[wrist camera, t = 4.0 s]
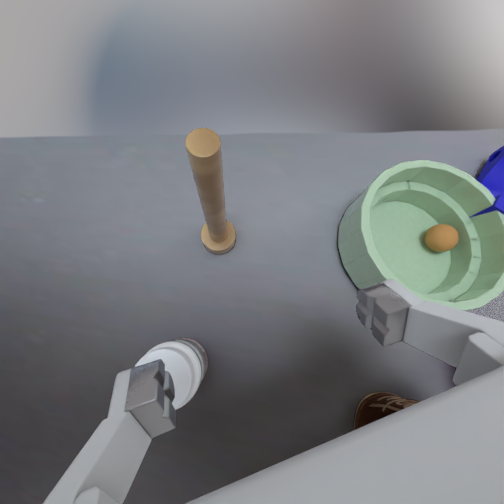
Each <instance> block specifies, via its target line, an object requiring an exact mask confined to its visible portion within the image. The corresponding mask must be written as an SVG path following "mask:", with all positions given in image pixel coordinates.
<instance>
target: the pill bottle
mask: <svg viewBox="0 0 504 504" xmlns="http://www.w3.org/2000/svg"><path fill="white" fill-rule="evenodd" d="M159 359H162V361H163V362H164V364H165V371H168V372H169V373H170V375H171V377H172V379H173V383H174V389H175V398H174V400H173V402H172V405H173V406H174V408H175V410H176V409H178V408H180V407H182V406H184V405H185V404H186V403H188V402H189V401H190V400H191V398H192V397H193V396H194V395H195V393H196V391H197V390H198V388H199V386H200V384H201V382H202V380H203V379H204V377H205V374H206V371H207V366H208V359H207V355H206V352H205V350H204V348H203V347H202V346H201V345H200V344H199V343H198V342H197V341H195V340H193V339H189V338H180V339H176V340H173V341H168V342H164V343H161V344H159V345H157V346H155V347H153V348H152V349H151V350H149V351H148V352H147V353H146V354H145V355H144V356H143V357H142V358H141V359H140V360H139V361H138V362H137V364H136V365H135V367H137V366H140V365H143V364H146V363H149V362H152V361H156V360H159Z"/></svg>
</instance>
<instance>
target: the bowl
mask: <svg viewBox="0 0 504 504" xmlns="http://www.w3.org/2000/svg"><path fill="white" fill-rule="evenodd" d="M495 200H496V198H495V197H494V196H493V195H492V193H491V192H490V191H489V190H488V189H487V188H486V187H485V186H484V185H482V184H481V183H480V182H478V181H477V180H476V179H475V178H473V177H472V176H471V175H469V174H468V173H466V172H463V171H461V170H459V169H457V168H455V167H452V166H450V165H448V164H445V163H439V162H433V161H428V160H419V161H410V162H402V163H400V164H398V165H396V166H393V167H391V168H389V169H387V170H385V171H383V172H382V173H381V174H380V175H379V176H378V177H377V178H376V179H375V180H374V181H373V182H372V184H371V185H370V186H369V187H368V188H367V189H366V190H365V191H364V192H363V193H362V194H361V195H360V196H359V197H358V198H357V199H356V200H355V201H354V202H353V203H352V204H351V205H350V206H349V207H348V208H347V210H346V212H345V214H344V216H343V219H342V221H341V223H340V226H339V238H338V247H339V251H340V255H341V259H342V263H343V266H344V268H345V269H346V271H347V272H348V274H349V276H350V277H351V279H352V281H353V282H354V284H355V286H357V287H358V288H359V289H363V288H365V287H368V286H371V285H374V284H377V283H380V282H382V281H385V280H388V279H394V280H396V281H397V282H398V283H400V284H401V285H402V286H404V287H405V288H406V289H408V290H409V291H410V292H412V293H413V294H415V295H416V296H417V297H419V298H420V299H421V300H423V301H424V302H425V301H431V302H434V303H438V304H442V305H445V306H449V307H452V308H456V309H460V310H463V311H466V310H471V309H477V308H481V307H482V306H484V305H485V304H487V303H488V302H490V301H491V300H493V299H495V298H496V297H498V296H499V295H500V294H501V293H502V291H503V290H504V214H502V213H501V212H499V211H492V212H489V213H485V214H481V215H478V216H474V217H470V216H472V215H474V214H476V213H478V212H480V211H482V210H484V209H486V208H488V207H490V206H492V205H493V204H494V202H495ZM469 217H470V218H469ZM437 224H447V225H450V226H452V227H454V228H455V229H456V230H457V232H458V234H459V240H458V243H457V245H456V246H455V247H454V248H452V249H451V250H449V251H445V252H437V251H434V250H432V249H430V248H429V247H428V246H427V245H426V243H425V240H424V237H425V233H426V232H427V230H428V229H429V228H431V227H432V226H434V225H437Z"/></svg>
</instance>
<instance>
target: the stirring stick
mask: <svg viewBox="0 0 504 504" xmlns="http://www.w3.org/2000/svg"><path fill="white" fill-rule="evenodd" d="M185 145H186V149H187V153H188V157H189V161H190V164H191V168H192V172H193V175H194V179H195V183H196V186H197V190H198V194H199V198H200V201H201V205H202V209H203V212H204V216H205V220H206V224H205V225H204V226H203V228H202V231H201V239H202V242H203V244H204V246H205V248H206V249H207V250H208V251H209V252H211V253H213V254H224V253H227V252H229V251H230V250H231V249H232V248H233V246H234V244H235V241H236V232H235V228H234V226H233V225H232V224H231V223H230V222H229V221H227V220H226V212H225V198H224V184H223V170H222V157H221V143H220V138H219V136H218V135H217V134H216V133H215V132H214V131H213V130H210V129H207V128H198V129H195V130H193V131H191V132H190V133H189V134H188V136H187V138H186V141H185Z"/></svg>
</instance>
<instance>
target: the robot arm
mask: <svg viewBox="0 0 504 504" xmlns="http://www.w3.org/2000/svg"><path fill="white" fill-rule="evenodd" d="M357 298H358V299H359V302H358V304H357V305H356V312H357V315H358V318H359V320H360V321H361V323H362V324H363V325H364V326H365V327H367V328H369V329H372V335H373V336H374V337H375V338H376V339H377V340H378V341H379V343H380V344H381V345H382V346H383V347H386V346H389V345H391V344H394V343H397V342H400V341H403V342H405V343H407V344H409V345H411V346H413V347H415V348H417V349H419V350H421V351H423V352H425V353H427V354H429V355H431V356H433V357H435V358H437V359H439V360H441V361H443V362H445V363H447V364H449V365H452V366H454V367H456V371H455V374H454V376H453V382H454V383H455V384H456V385H457V386H455V387H453V388H451V389H448V390H446V391H444V392H441V393H439V394H437V395H434V396H432V397H430V398H428V399H425V400H423V401H421V402H418V403H416V404H414V405H411V406H409V407H407V408H404V409H402V410H400V411H397V412H395V413H393V414H391V415H388V416H386V417H384V418H381V419H379V420H377V421H374V422H372V423H370V424H367V425H365V426H363V427H360V428H358V429H356V430H354V431H351V432H349V433H347V434H344V435H342V436H340V437H337V438H335V439H333V440H330V441H328V442H326V443H324V444H321V445H319V446H317V447H314V448H312V449H310V450H307V451H305V452H303V453H300V454H298V455H296V456H293V457H291V458H289V459H287V460H284V461H282V462H280V463H277V464H275V465H273V466H270V467H268V468H266V469H263V470H261V471H259V472H257V473H254V474H252V475H250V476H247V477H245V478H243V479H240V480H238V481H236V482H233V483H231V484H229V485H227V486H224V487H222V488H220V489H217V490H215V491H213V492H210V493H208V494H206V495H204V496H201V497H199V498H197V499H194V500H192V501H190V502H187V503H185V504H504V322H503V321H499V320H495V319H492V318H488V317H485V316H481V315H478V314H474V313H470V312H467V311H463V310H460V309H456V308H452V307H449V306H445V305H442V304H438V303H434V302H431V301H425V302H424V301H423V300H421V299H420V298H419V297H417V296H416V295H415V294H413V293H412V292H410V291H409V290H408V289H406V288H405V287H404V286H402V285H401V284H400V283H398V282H397V281H396V280H394V279H388V280H385V281H382V282H380V283H377V284H374V285H371V286H368V287H365V288H363V289H360V290H358V292H357ZM174 398H175V389H174V383H173V379H172V377H171V375H170V373H169V372H168V371H165V364H164V362H163V361H162V359H159V360H156V361H152V362H149V363H146V364H143V365H140V366H137V367H134V368H131V369H128V370H125V371H122V372H119V373H118V374H117V376H116V378H115V383H114V388H113V393H112V398H111V402H110V407H109V412H108V417H107V419H105V420H103V421H102V422H101V423H100V425H99V426H98V427H97V429H96V430H95V432H94V433H93V434H92V436H91V437H90V439H89V440H88V441H87V443H86V444H85V446H84V447H83V448H82V450H81V451H80V452H79V454H78V455H77V457H76V458H75V459H74V461H73V462H72V464H71V465H70V466H69V468H68V469H67V470H66V472H65V473H64V475H63V476H62V477H61V479H60V480H59V482H58V483H57V484H56V486H55V487H54V489H53V490H52V491H51V493H50V494H49V495H48V497H47V498H46V500H45V501H44V502H43V504H123V502H124V500H125V498H126V495H127V493H128V491H129V489H130V487H131V484H132V482H133V480H134V478H135V476H136V473H137V471H138V469H139V467H140V464H141V462H142V460H143V458H144V456H145V453H146V451H147V449H148V447H149V445H150V442H151V440H152V439H151V438H153V437H155V436H158V435H160V434H163V433H165V432H167V431H170V430H172V429H174V428H176V427H175V408H174V406H173V405H172V402H173V400H174Z"/></svg>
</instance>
